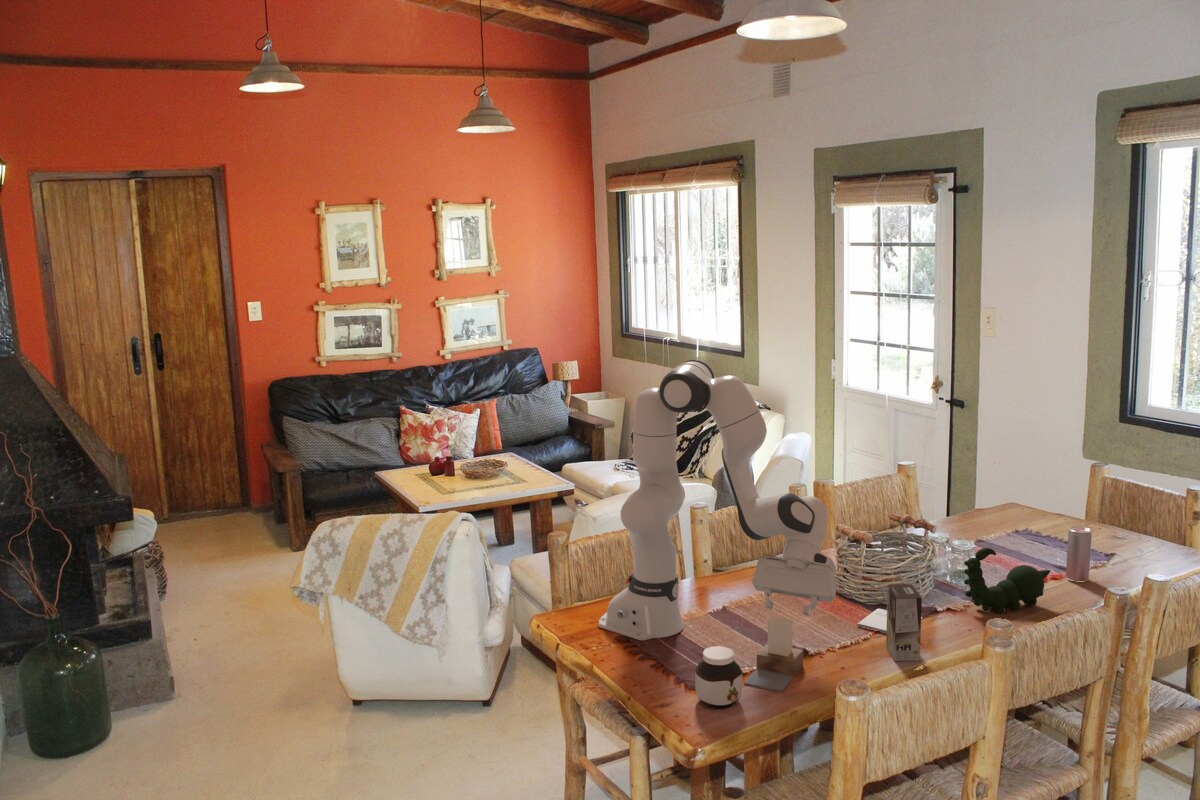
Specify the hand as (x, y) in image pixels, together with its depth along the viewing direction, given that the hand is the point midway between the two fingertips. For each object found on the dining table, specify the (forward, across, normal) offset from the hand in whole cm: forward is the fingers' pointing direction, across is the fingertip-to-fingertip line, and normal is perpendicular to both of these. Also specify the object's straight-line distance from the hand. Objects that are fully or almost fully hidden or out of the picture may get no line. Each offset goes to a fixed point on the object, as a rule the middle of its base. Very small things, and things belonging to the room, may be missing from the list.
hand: (786, 611), depth 244 cm
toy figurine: (-30, +42, +48) cm, 71 cm away
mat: (+17, 0, 0) cm, 17 cm away
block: (+9, 0, +3) cm, 10 cm away
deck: (+12, 0, +6) cm, 13 cm away
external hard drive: (-13, +15, +32) cm, 38 cm away
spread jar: (+26, -8, -8) cm, 28 cm away
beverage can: (-51, +57, +69) cm, 103 cm away
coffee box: (-2, +24, +20) cm, 31 cm away
